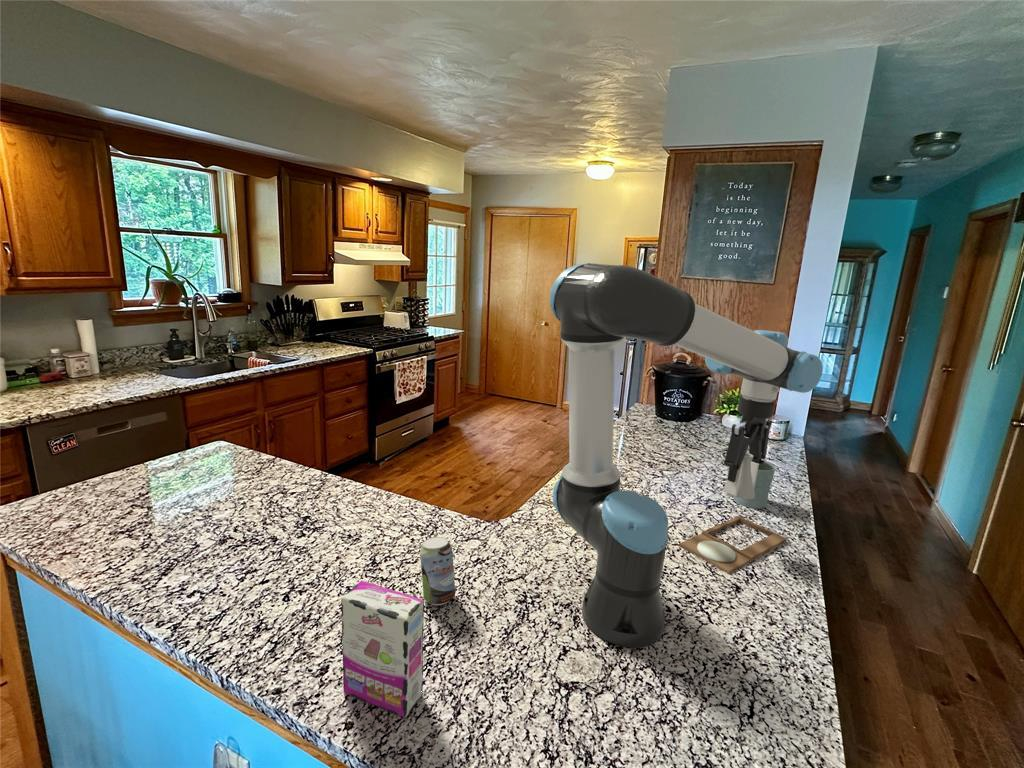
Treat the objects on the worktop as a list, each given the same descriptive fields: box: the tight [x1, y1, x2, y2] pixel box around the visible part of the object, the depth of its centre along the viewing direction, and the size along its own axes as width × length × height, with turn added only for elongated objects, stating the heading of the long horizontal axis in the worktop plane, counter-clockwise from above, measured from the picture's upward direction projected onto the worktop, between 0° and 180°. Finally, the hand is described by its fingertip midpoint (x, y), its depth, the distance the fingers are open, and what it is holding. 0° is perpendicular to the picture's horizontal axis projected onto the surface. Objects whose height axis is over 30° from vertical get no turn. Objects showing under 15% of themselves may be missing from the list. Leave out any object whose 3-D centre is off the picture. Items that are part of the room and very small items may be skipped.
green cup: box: [733, 460, 776, 510], centre depth 145 cm, size 10×10×12 cm
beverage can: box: [419, 536, 456, 606], centre depth 95 cm, size 6×7×12 cm
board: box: [678, 515, 788, 574], centre depth 123 cm, size 26×13×1 cm, turn 126°
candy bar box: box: [340, 580, 425, 719], centre depth 73 cm, size 11×5×16 cm, turn 69°
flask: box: [723, 452, 755, 499], centre depth 119 cm, size 7×7×10 cm
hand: (739, 490), depth 120 cm, fingers closed on flask, 7 cm apart
